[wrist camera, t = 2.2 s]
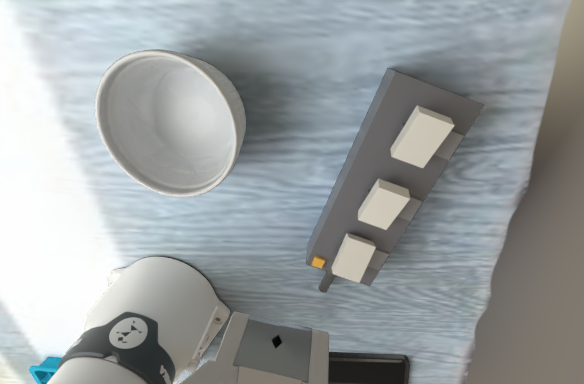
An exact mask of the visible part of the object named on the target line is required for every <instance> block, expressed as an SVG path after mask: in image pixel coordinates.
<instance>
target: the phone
mask: <svg viewBox="0 0 584 384" xmlns="http://www.w3.org/2000/svg"><path fill="white" fill-rule="evenodd" d="M409 366H410V364H409V360H408V358H407V357H406V356H404V355H393V354H365V353H337V352H329V366H328V384H408V377H409Z"/></svg>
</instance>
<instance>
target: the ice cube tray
mask: <svg viewBox="0 0 584 384" xmlns="http://www.w3.org/2000/svg"><path fill="white" fill-rule="evenodd" d="M62 359H63V358H55V357H48V358H47V359H46V360H45V361H44V362H43V363H42V364H41V365H40V366H31V367H30V369H29V371H30V373H31V374H32V376H33V377H34V379H35V380H36V382H37V383H38V384H47V382H48V381H49V380H50V379H51V378H52V376H53V375H54V374H55V373H56V372H57V371H58V365H59V362H60V361H61V360H62Z"/></svg>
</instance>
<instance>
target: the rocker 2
mask: <svg viewBox="0 0 584 384" xmlns="http://www.w3.org/2000/svg"><path fill="white" fill-rule="evenodd" d="M409 200H410V195H409V190H408V189H406V188H403V187H401V186H398V185H395V184H392V183H390V182H387V181H384V180H381V179H379V178H378V180H377V181H376V183H375V185H374V186H373V188H372V189H371V191H370V193H369V194H368V196H367V197H366V199H365V200H364V202H363V204H362V205H361V207H360V208H359V210H358V220H359V221H362V222H365V223H368V224H371V225H373V226H376V227H379V228H382V229H385V230H387V228H388V227H389V226H390V225H391V223H392V222H393V221H394V219H395V218H396V217H397V215H398V214H399V213H400V212H401V210H402V209H403V208H404V206H405V205H406V204H407V202H408V201H409Z"/></svg>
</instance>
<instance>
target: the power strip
mask: <svg viewBox="0 0 584 384" xmlns="http://www.w3.org/2000/svg"><path fill="white" fill-rule="evenodd" d="M417 105H418V106H420V107H423V108H426V109H428V110H431V111H434V112H436V113H439V114H442V115H444V116H447V117H450V118H451V119H452V121H453V123H454V125H455V126H454V127H453V129H452V130H451V131H450V133H449V134H448V135H447V137H446V138H445V139H444V141H443V142H442V143H441V145H440V146H439V147H438V149H437V150H436V151H435V153H434V154H433V155H432V157H431V158H430V160H429V161H428V162H427V164H426V165H425V166H424V168H421V167H418V166H415V165H412V164H410V163H407V162H404V161H401V160H399V159H396V158H393V157H391V151H390V148H391V147H392V145H393V143H394V142H395V140H396V139H397V137H398V135H399V134H400V132H401V130H402V129H403V127H404V126H405V124H406V122H407V121H408V119H409V117H410V116H411V114H412V112H413V111H414V109H415V108H416V106H417ZM483 106H484V105H483V104H481V103H478V102H475V101H473V100H470V99H467V98H465V97H462V96H460V95H457V94H454V93H452V92H449V91H446V90H444V89H441V88H438V87H436V86H433V85H431V84H428V83H425V82H423V81H420V80H417V79H415V78H412V77H410V76H407V75H404V74H402V73H399V72H396V71H394V70H391V69H388V68H387V70H386V73H385V75H384V77H383V79H382V81H381V84H380V86H379V88H378V90H377V93H376V95H375V97H374V99H373V101H372V104H371V106H370V108H369V110H368V112H367V115H366V117H365V119H364V121H363V123H362V126H361V128H360V130H359V132H358V134H357V137H356V139H355V141H354V143H353V145H352V148H351V150H350V152H349V154H348V157H347V159H346V161H345V163H344V165H343V168H342V170H341V172H340V174H339V176H338V179H337V181H336V183H335V185H334V187H333V190H332V192H331V194H330V196H329V198H328V201H327V203H326V205H325V207H324V210H323V212H322V214H321V216H320V218H319V221H318V223H317V225H316V227H315V229H314V232H313V234H312V236H311V238H310V240H309V243H308V249H307V257H306V264H307V265H310V266H313V267H316V268H319V269H322V270H325V271H327V272H326V273H325V275H324V277H323V279H322V281H321V283H320V285H319V290H320V291H321V292H327V290H328V288H329V286H330V284H331V283H332V281H333V279H334V277H335V275H334V274H333V273H332V265H333V263H334V261H335V258H336V256H337V254H338V251H339V249H340V247H341V245H342V242H343V240H344V238H345V235H346V233H350V234H353V235H355V236H358V237H361V238H364V239H367V240H370V241H372V242H373V243H374V244H375V246H376V248H375V250H374V253H373V255H372V257H371V259H370V261H369V263H368V265H367V268H366V270H365V272H364V274H363V276H362V278H361V280H360V283H362V284H365V285H368V286H370V285H371V283H372V282H373V280H374V279H375V277H376V275H377V274H378V272H379V271H380V269H381V267H382V266H383V264H384V263H385V261H386V260H387V258H388V256H389V255H390V253H391V252H392V250H393V249H394V247H395V245H396V244H397V242H398V241H399V239H400V237H401V236H402V234H403V233H404V231H405V230H406V228H407V226H408V225H409V223H410V222H411V220H412V219H413V217H414V215H415V214H416V212H417V211H418V209H419V207H420V206H421V204H422V203H423V201H424V200H425V198H426V196H427V195H428V193H429V192H430V190H431V189H432V187H433V185H434V184H435V182H436V181H437V179H438V177H439V176H440V174H441V173H442V171H443V170H444V168H445V166H446V165H447V163H448V162H449V160H450V159H451V157H452V155H453V154H454V152H455V151H456V149H457V147H458V146H459V144H460V143H461V141H462V140H463V138H464V136H465V135H466V133H467V132H468V130H469V128H470V127H471V125H472V124H473V122H474V121H475V119H476V117H477V116H478V114H479V113H480V111H481V110H482V108H483ZM378 178H379V179H381V180H384V181H387V182H390V183H392V184H395V185H398V186H401V187H403V188H406V189H408V190H409V195H410V200H409V201H408V202H407V204H406V205H405V206H404V208H403V209H402V210H401V212H400V213H399V214H398V215H397V217H396V218H395V219H394V221H393V222H392V223H391V225H390V226H389V227H388V228H387V230H385V229H382V228H379V227H376V226H373V225H371V224H368V223H365V222H362V221H359V220H358V210H359V208H360V207H361V205H362V204H363V202H364V200H365V199H366V197H367V196H368V194H369V193H370V191H371V189H372V188H373V186H374V185H375V183H376V181H377V180H378Z"/></svg>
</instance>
